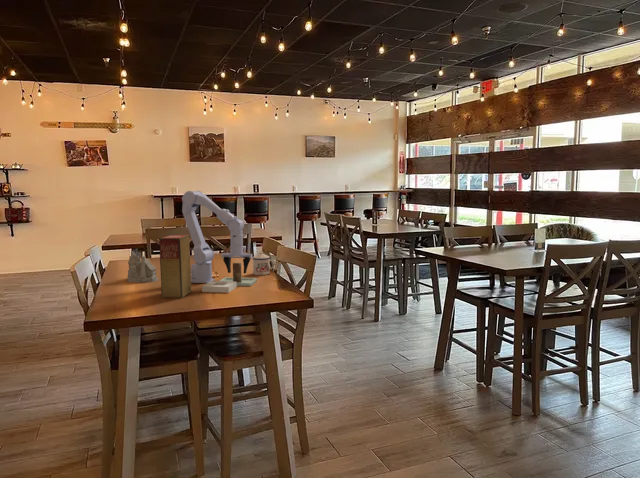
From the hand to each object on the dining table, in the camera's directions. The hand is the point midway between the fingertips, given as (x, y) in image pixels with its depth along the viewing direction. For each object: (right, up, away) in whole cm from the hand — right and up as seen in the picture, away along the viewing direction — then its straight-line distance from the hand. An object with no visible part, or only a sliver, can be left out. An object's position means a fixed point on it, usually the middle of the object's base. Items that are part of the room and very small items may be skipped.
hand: (237, 272), depth 225 cm
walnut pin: (0, -4, 0) cm, 4 cm away
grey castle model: (-48, -4, +10) cm, 49 cm away
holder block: (-5, -7, -13) cm, 15 cm away
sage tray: (0, -5, +1) cm, 5 cm away
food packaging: (-22, -8, -23) cm, 33 cm away
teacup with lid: (+10, -2, +26) cm, 27 cm away
